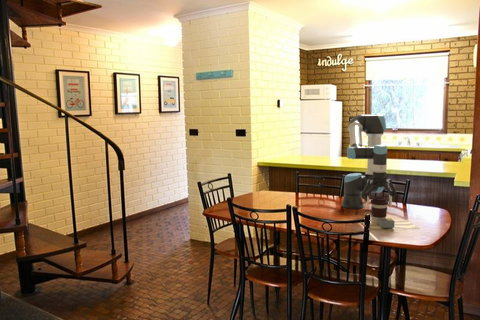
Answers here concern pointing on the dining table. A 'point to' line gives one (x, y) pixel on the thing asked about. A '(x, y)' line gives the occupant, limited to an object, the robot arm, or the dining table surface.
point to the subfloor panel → (397, 225)
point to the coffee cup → (378, 209)
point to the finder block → (386, 223)
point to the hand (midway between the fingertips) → (378, 206)
